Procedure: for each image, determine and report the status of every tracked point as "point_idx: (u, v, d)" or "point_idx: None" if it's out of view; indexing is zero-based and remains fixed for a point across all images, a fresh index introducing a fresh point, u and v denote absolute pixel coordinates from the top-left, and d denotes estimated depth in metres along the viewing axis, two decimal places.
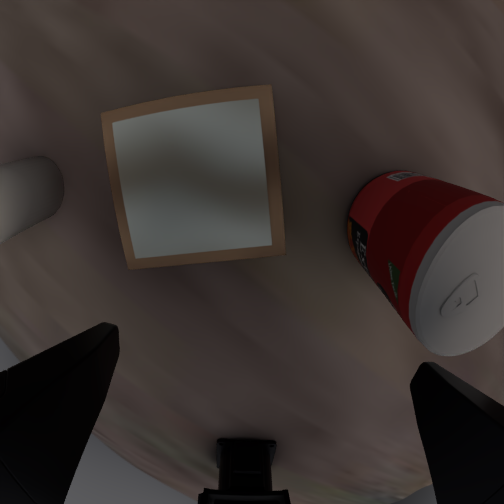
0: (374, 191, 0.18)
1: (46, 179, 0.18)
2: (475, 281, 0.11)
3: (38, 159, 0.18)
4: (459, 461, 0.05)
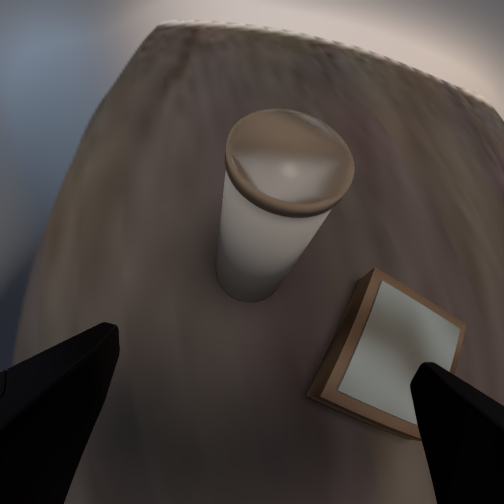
0: None
1: None
2: None
3: None
4: (459, 461, 0.05)
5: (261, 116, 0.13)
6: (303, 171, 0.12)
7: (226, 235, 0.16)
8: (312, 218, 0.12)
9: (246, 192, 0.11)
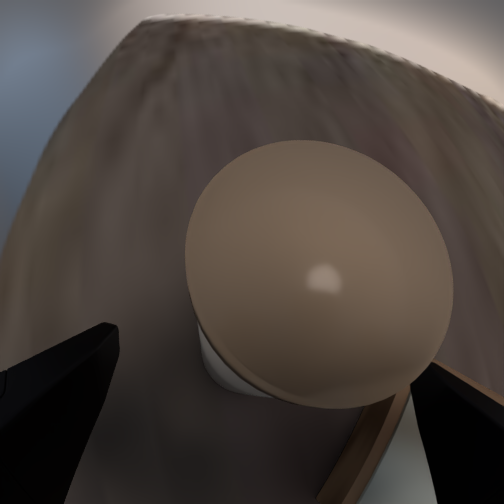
0: None
1: None
2: None
3: None
4: (459, 461, 0.05)
5: (268, 159, 0.06)
6: (365, 308, 0.05)
7: (206, 356, 0.09)
8: None
9: (232, 368, 0.05)
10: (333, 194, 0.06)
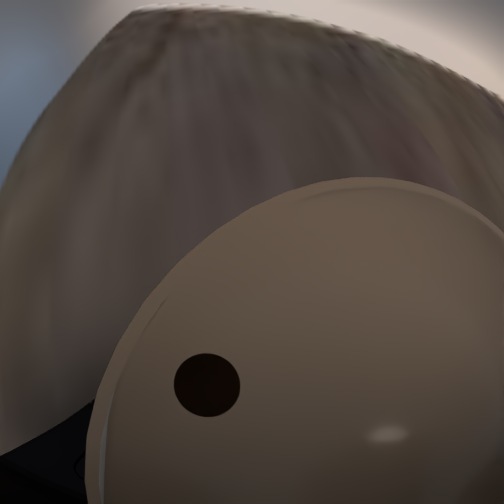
0: None
1: None
2: None
3: None
4: None
5: (293, 237, 0.02)
6: None
7: None
8: None
9: None
10: (439, 324, 0.02)
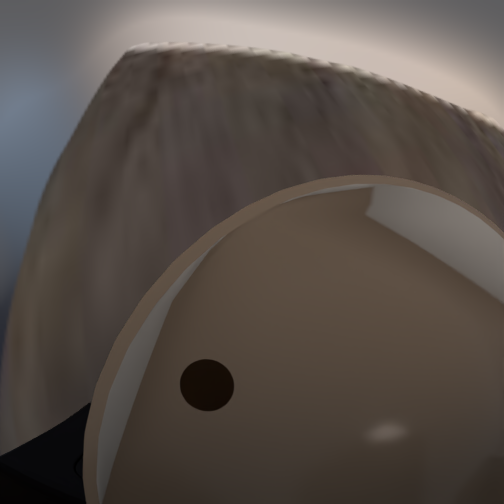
0: None
1: None
2: None
3: None
4: None
5: (291, 234, 0.02)
6: None
7: None
8: None
9: None
10: (437, 321, 0.02)
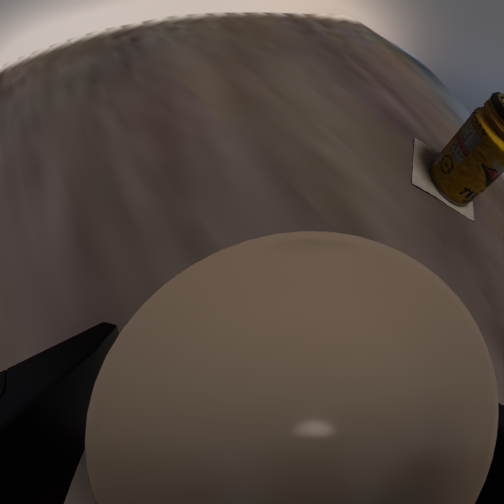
0: None
1: None
2: None
3: None
4: None
5: (221, 286, 0.03)
6: None
7: None
8: None
9: None
10: (336, 349, 0.03)
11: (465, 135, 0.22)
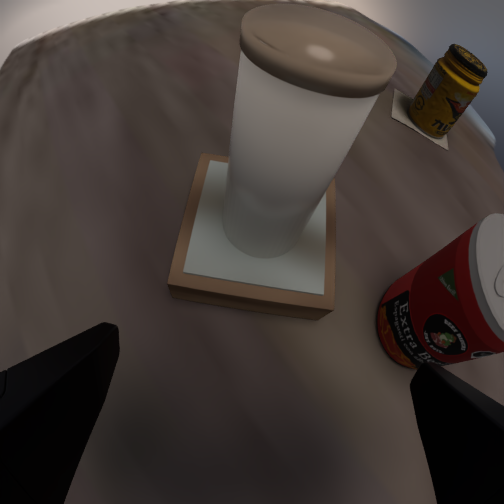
0: (405, 275, 0.21)
1: None
2: None
3: None
4: (459, 461, 0.05)
5: (281, 7, 0.09)
6: (338, 48, 0.08)
7: (238, 152, 0.12)
8: (353, 105, 0.08)
9: (267, 61, 0.08)
10: (317, 19, 0.09)
11: (431, 77, 0.27)
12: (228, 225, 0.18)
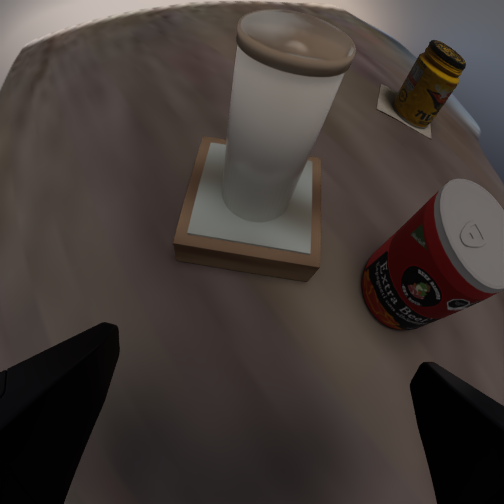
0: None
1: None
2: (476, 225, 0.15)
3: None
4: (459, 461, 0.05)
5: (268, 12, 0.12)
6: (309, 42, 0.11)
7: (235, 124, 0.15)
8: (320, 83, 0.11)
9: (257, 53, 0.10)
10: (295, 21, 0.11)
11: (413, 71, 0.30)
12: (226, 192, 0.21)
